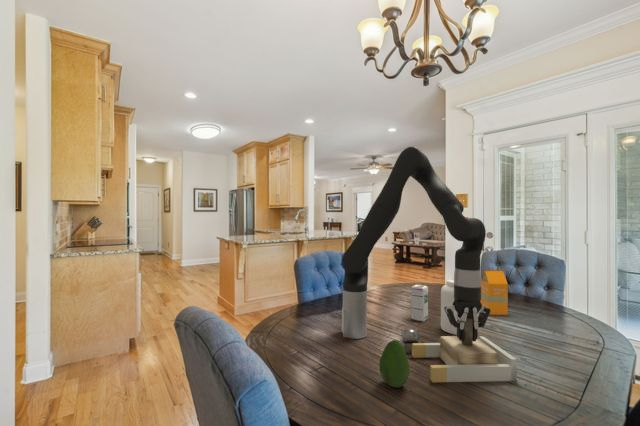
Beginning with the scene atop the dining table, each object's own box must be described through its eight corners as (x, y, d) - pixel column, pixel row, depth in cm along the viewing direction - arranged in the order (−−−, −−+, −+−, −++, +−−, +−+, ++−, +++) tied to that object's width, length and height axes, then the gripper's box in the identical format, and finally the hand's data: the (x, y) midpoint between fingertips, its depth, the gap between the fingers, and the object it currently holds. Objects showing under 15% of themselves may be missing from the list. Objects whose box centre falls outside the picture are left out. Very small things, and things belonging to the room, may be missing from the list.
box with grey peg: (459, 378, 86) (459, 325, 86) (439, 357, 99) (440, 311, 99) (497, 377, 87) (497, 324, 87) (473, 357, 99) (474, 311, 99)
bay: (432, 382, 84) (432, 360, 84) (411, 355, 100) (412, 337, 100) (516, 380, 85) (516, 359, 85) (483, 354, 101) (483, 336, 101)
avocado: (404, 377, 87) (404, 335, 87) (413, 393, 79) (413, 347, 79) (376, 377, 86) (376, 335, 86) (382, 393, 78) (383, 347, 78)
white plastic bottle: (479, 338, 115) (479, 284, 115) (443, 335, 117) (444, 283, 117) (469, 326, 127) (470, 278, 127) (438, 323, 130) (438, 276, 130)
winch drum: (403, 352, 102) (404, 331, 102) (400, 347, 106) (400, 327, 106) (421, 352, 102) (421, 331, 102) (417, 347, 106) (417, 327, 106)
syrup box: (424, 321, 132) (424, 288, 132) (410, 319, 135) (411, 286, 135) (428, 318, 136) (428, 285, 136) (415, 315, 140) (415, 283, 140)
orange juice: (507, 315, 142) (508, 272, 142) (488, 314, 142) (489, 271, 142) (498, 309, 150) (498, 269, 150) (480, 309, 150) (480, 268, 150)
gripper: (482, 280, 97) (482, 335, 97) (439, 281, 96) (438, 335, 96) (497, 286, 89) (497, 345, 89) (450, 286, 89) (450, 346, 89)
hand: (467, 340), depth 93 cm, fingers closed on box with grey peg, 3 cm apart
